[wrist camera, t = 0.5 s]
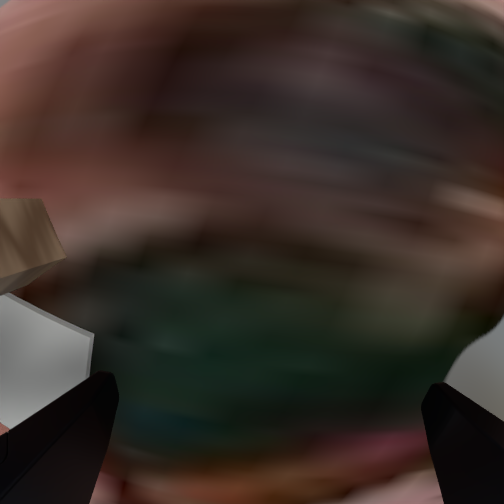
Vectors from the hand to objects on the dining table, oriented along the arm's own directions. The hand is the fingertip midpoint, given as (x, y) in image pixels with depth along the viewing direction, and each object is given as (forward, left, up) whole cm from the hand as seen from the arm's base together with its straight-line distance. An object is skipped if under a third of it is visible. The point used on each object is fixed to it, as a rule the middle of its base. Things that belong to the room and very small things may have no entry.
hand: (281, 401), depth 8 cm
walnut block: (-3, +17, -14) cm, 23 cm away
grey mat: (-16, +18, -14) cm, 28 cm away
